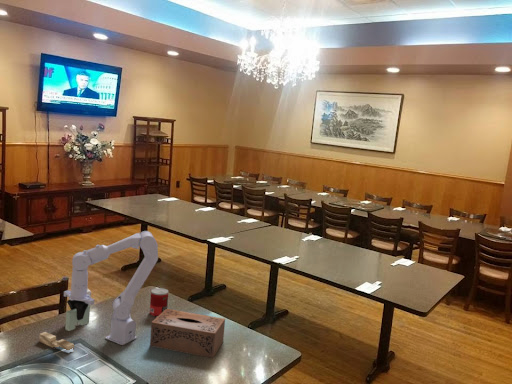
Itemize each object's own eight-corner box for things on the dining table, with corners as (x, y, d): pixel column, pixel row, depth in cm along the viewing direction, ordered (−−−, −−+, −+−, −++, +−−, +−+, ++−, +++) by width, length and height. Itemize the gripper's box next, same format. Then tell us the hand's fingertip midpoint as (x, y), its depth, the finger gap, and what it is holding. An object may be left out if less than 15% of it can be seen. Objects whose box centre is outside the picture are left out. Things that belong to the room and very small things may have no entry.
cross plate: (85, 321, 166) (85, 304, 165) (88, 323, 165) (89, 305, 165) (65, 329, 158) (66, 311, 157) (69, 331, 157) (69, 313, 157)
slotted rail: (73, 351, 155) (73, 344, 155) (67, 354, 153) (68, 346, 153) (45, 339, 162) (45, 331, 162) (39, 341, 160) (39, 333, 160)
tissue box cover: (149, 346, 165) (151, 322, 164) (164, 331, 179) (166, 308, 178) (213, 358, 160) (215, 333, 159) (223, 341, 174) (225, 318, 173)
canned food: (164, 317, 191) (166, 294, 190) (147, 316, 191) (149, 292, 190) (168, 311, 199) (170, 288, 198) (151, 309, 199) (153, 287, 198)
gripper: (57, 282, 160) (56, 316, 161) (84, 291, 153) (82, 327, 155) (73, 278, 166) (71, 311, 168) (99, 286, 159) (97, 320, 161)
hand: (77, 318), depth 162 cm, fingers closed on cross plate, 2 cm apart
